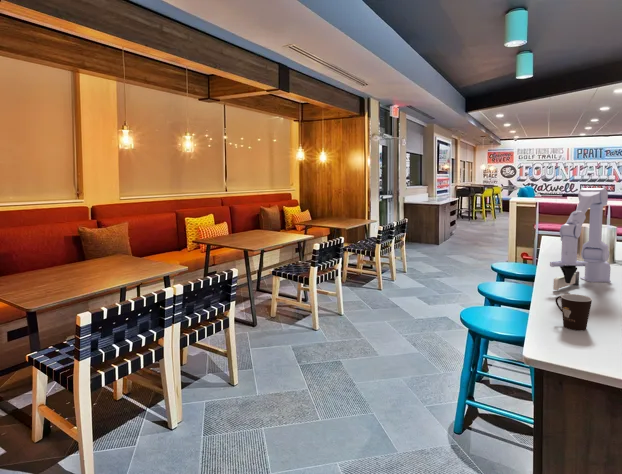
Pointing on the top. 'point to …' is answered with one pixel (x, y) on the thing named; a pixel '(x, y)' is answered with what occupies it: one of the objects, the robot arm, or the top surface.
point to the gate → (562, 282)
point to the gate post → (577, 278)
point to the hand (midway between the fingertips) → (567, 282)
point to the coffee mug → (575, 310)
